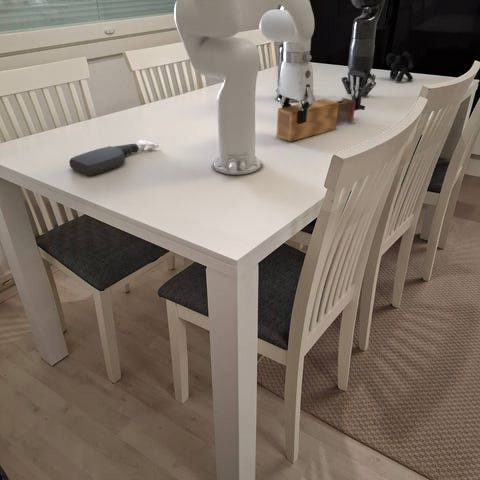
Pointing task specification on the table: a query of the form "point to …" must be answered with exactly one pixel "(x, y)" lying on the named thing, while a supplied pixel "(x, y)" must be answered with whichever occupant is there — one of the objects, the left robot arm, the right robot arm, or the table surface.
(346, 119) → the drawer
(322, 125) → the cabinet
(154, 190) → the table surface
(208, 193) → the table surface
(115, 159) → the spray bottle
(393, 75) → the squiggle
